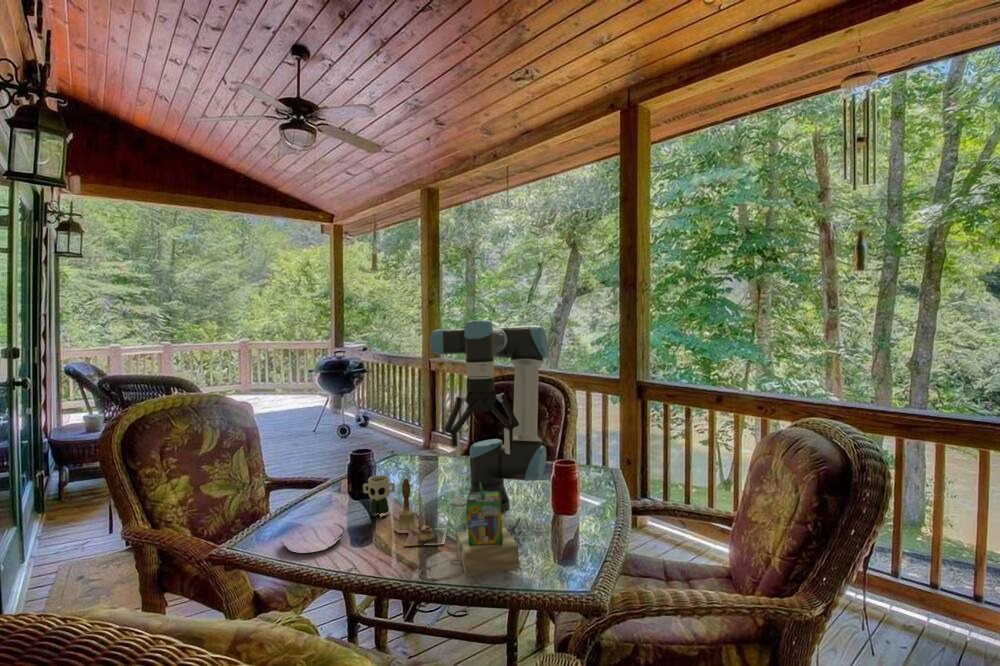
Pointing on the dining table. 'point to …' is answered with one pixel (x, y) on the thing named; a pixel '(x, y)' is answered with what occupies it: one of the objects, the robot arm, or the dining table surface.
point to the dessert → (427, 534)
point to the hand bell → (406, 511)
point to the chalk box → (484, 518)
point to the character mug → (379, 493)
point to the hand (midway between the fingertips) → (483, 455)
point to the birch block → (487, 554)
